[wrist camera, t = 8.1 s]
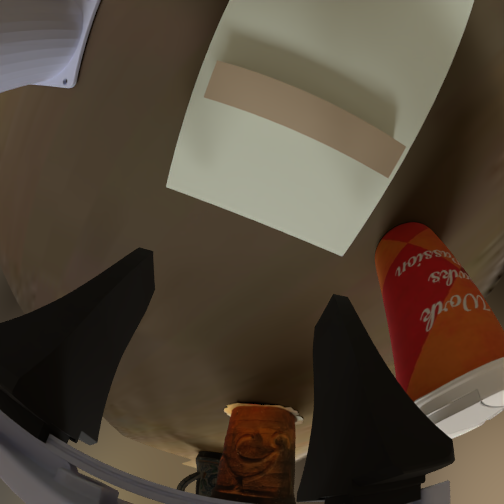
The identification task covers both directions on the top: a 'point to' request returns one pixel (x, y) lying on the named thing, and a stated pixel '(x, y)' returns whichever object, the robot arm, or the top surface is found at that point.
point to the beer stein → (204, 473)
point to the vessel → (258, 455)
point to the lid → (313, 108)
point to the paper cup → (440, 331)
